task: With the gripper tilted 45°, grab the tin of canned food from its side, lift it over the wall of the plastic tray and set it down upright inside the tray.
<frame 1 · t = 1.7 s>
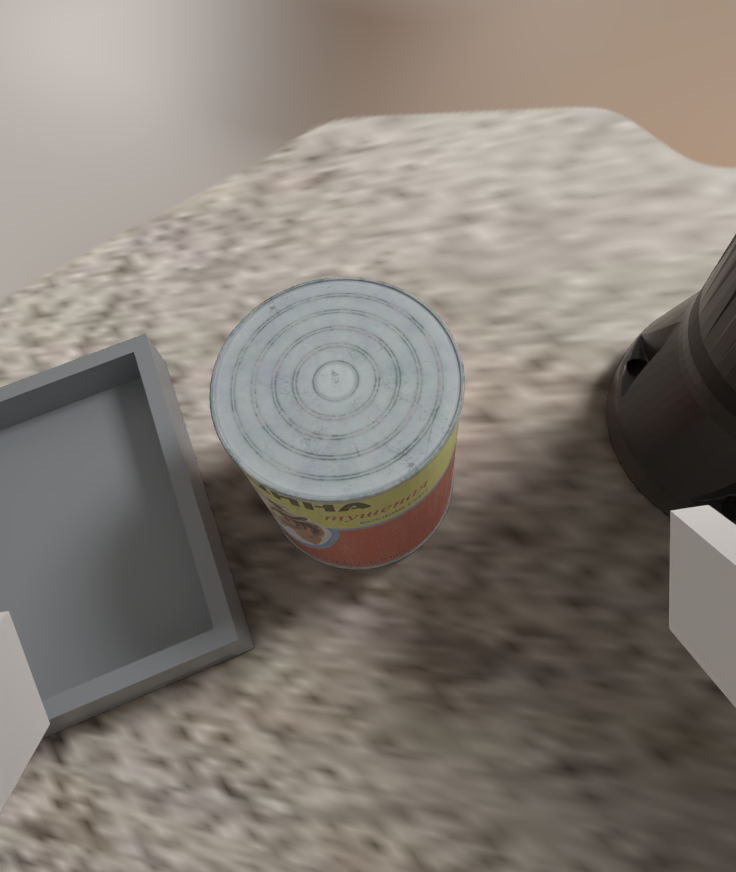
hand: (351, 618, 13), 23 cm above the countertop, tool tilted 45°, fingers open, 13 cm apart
canned food: (359, 478, 40), on the countertop
tray: (79, 540, 39), on the countertop
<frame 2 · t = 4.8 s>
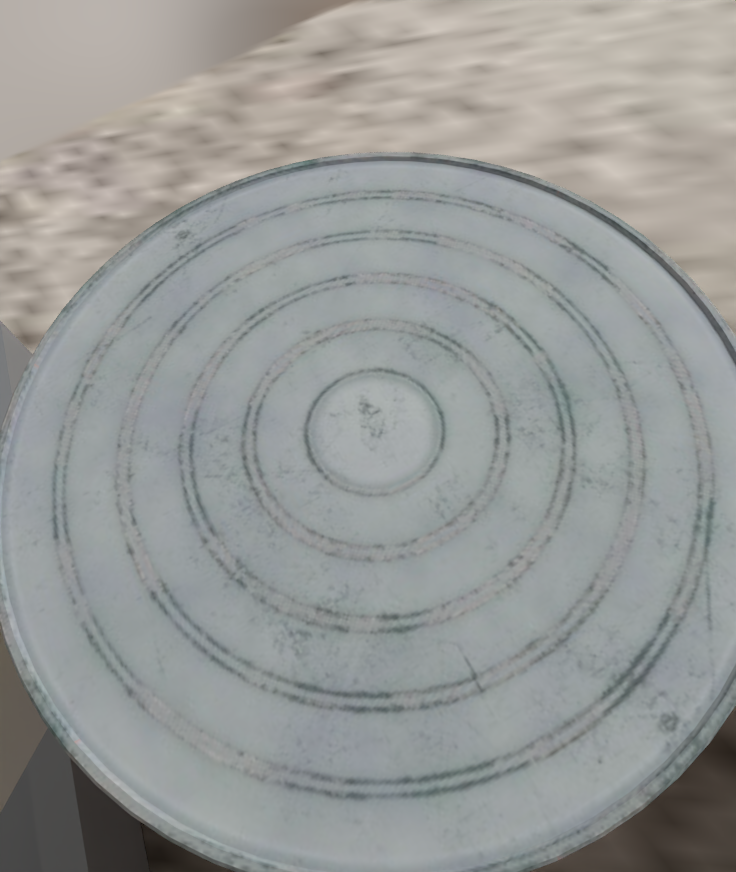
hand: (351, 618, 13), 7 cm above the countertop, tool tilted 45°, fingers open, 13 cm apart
canned food: (391, 599, 20), on the countertop, touching gripper
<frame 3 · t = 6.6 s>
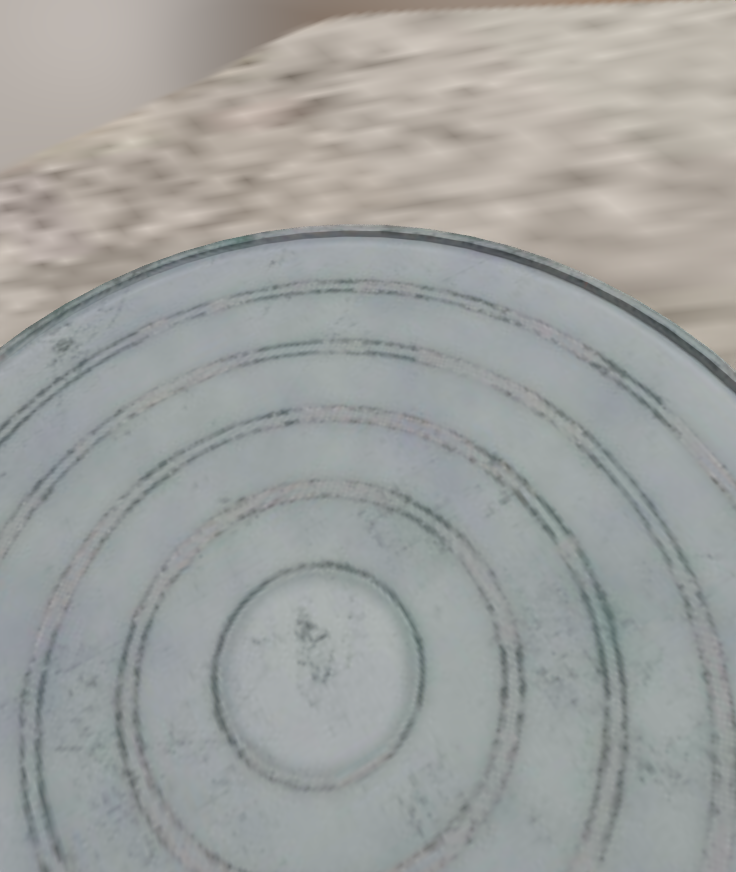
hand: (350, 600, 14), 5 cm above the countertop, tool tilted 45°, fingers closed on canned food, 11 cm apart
canned food: (377, 724, 17), on the countertop, touching gripper
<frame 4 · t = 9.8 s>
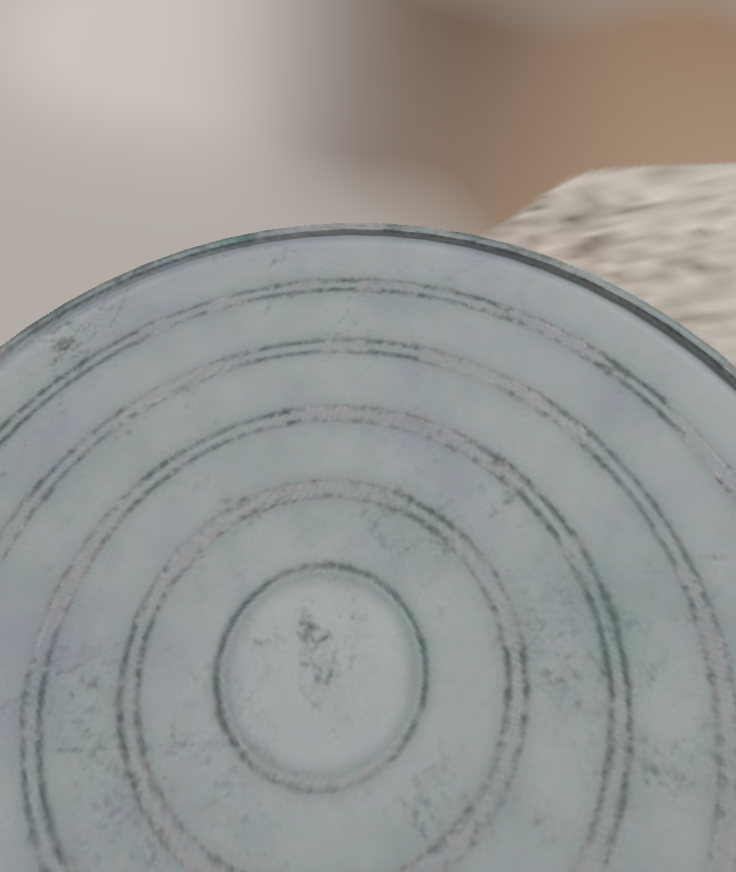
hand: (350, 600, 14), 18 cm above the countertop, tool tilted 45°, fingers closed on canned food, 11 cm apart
canned food: (377, 724, 17), point 13 cm above the countertop, touching gripper
when the fingers open (7 cm above the countertop, at t = 12.9 s): canned food drops 1 cm, resting on tray.
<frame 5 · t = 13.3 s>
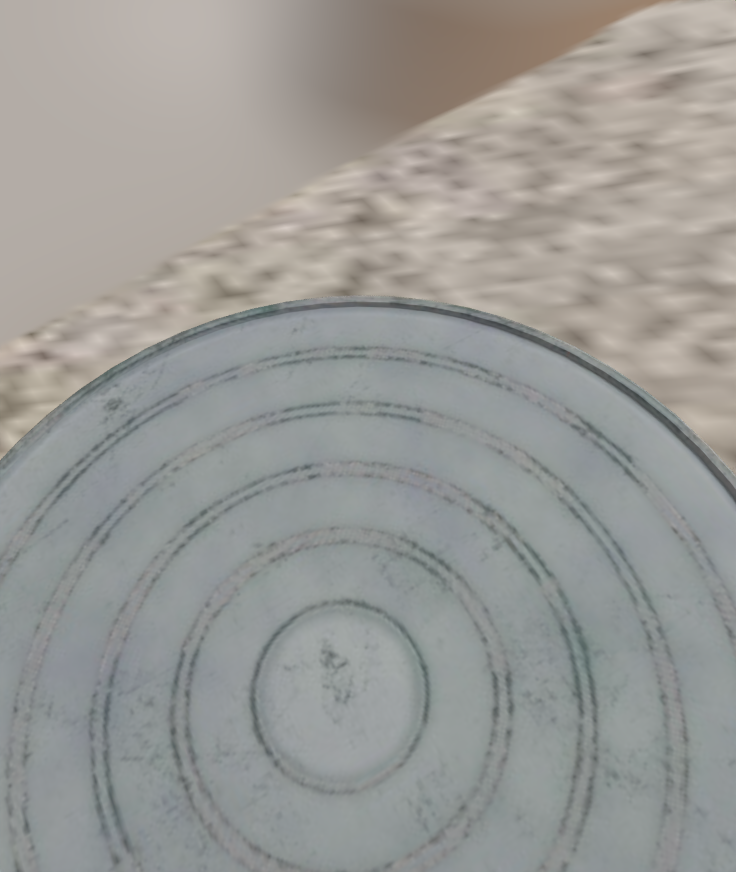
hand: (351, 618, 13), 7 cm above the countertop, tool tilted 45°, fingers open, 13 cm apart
canned food: (379, 730, 18), point 1 cm above the countertop, touching tray
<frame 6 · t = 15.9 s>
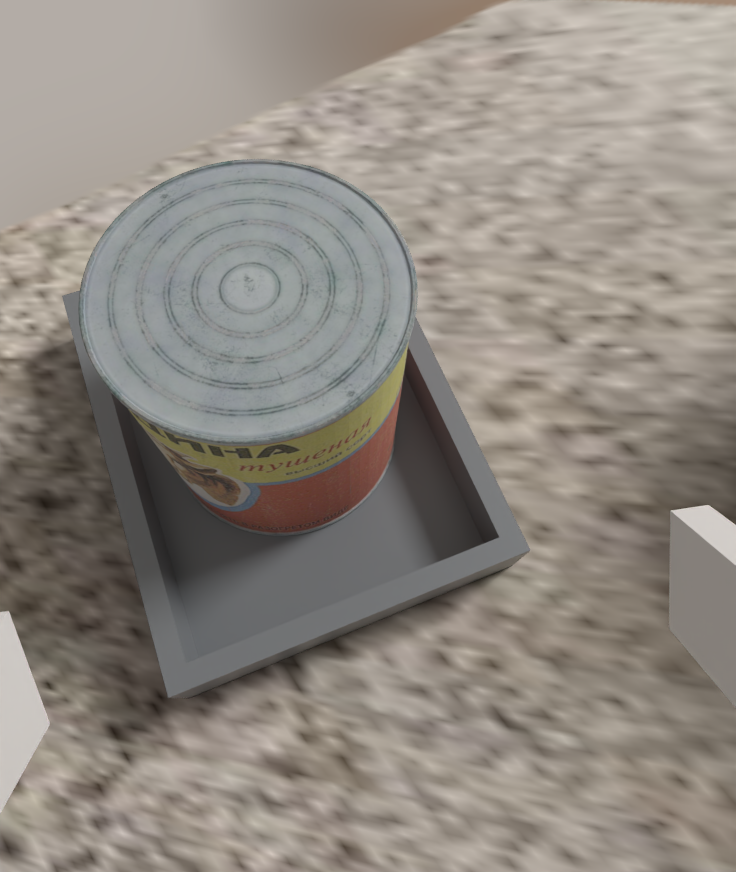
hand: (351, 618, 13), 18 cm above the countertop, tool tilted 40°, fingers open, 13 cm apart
canned food: (285, 428, 33), point 1 cm above the countertop, touching tray
tray: (286, 441, 33), on the countertop
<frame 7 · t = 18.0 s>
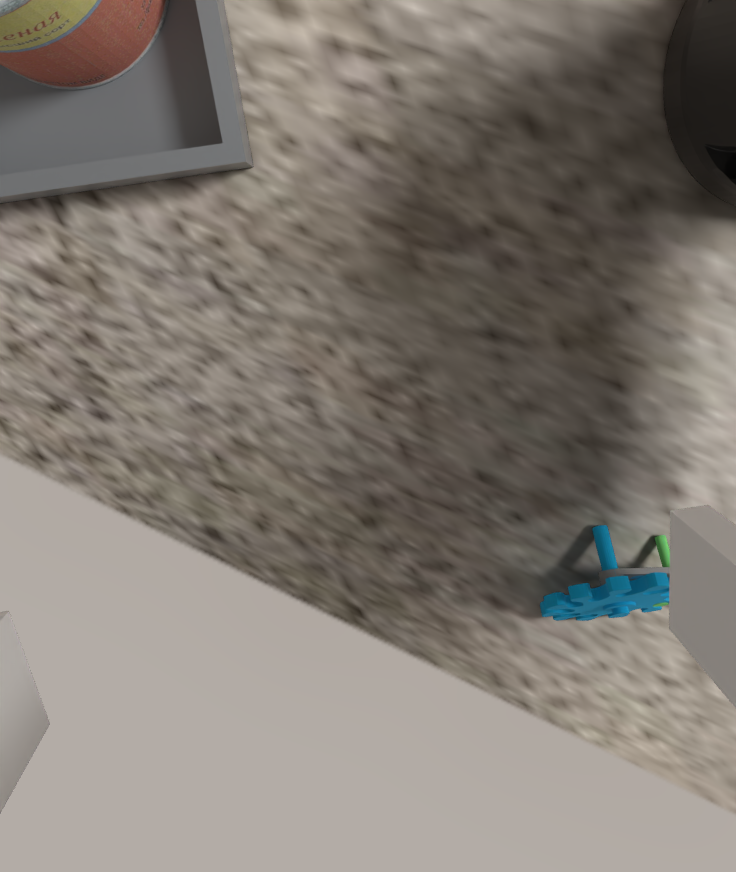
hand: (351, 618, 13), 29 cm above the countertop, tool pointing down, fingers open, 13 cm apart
blue irregular piece: (601, 567, 46), on the countertop
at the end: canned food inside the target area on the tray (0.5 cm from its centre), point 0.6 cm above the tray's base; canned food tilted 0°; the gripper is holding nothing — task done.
